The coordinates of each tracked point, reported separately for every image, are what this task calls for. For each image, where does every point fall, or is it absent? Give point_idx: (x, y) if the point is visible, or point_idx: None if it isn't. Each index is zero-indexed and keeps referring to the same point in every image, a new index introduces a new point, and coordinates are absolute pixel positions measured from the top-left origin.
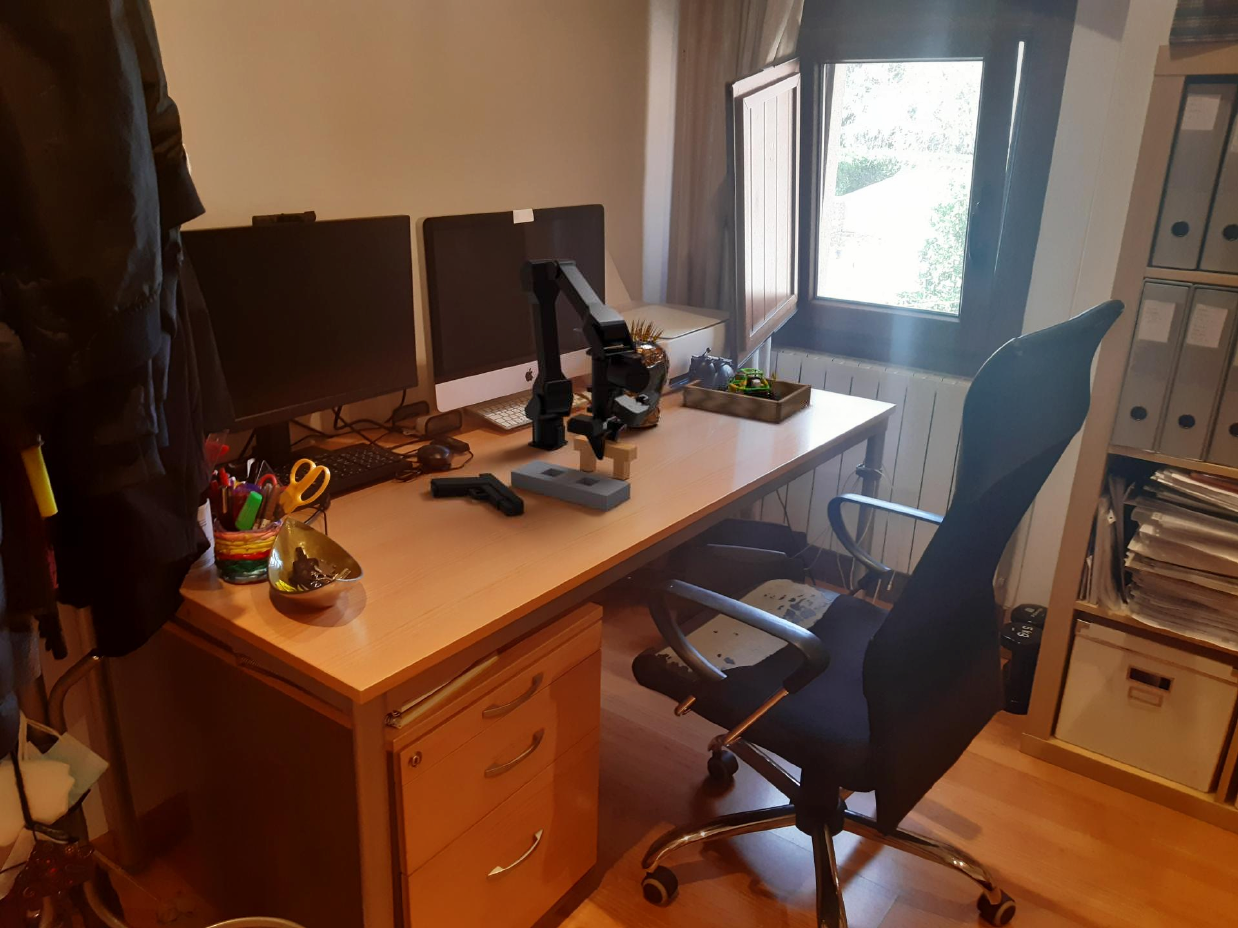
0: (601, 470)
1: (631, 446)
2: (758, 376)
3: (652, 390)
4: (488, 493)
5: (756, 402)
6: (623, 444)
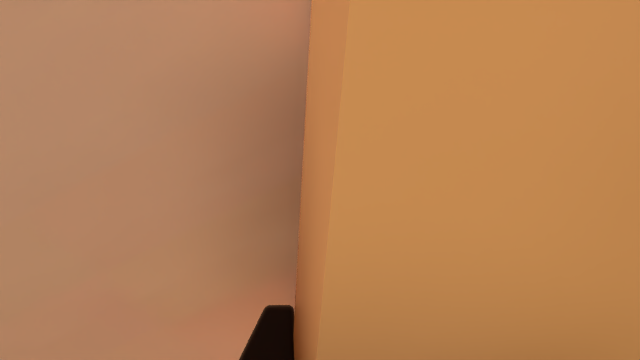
0: (293, 245)
1: (493, 65)
2: None
3: None
4: None
5: None
6: (415, 331)
